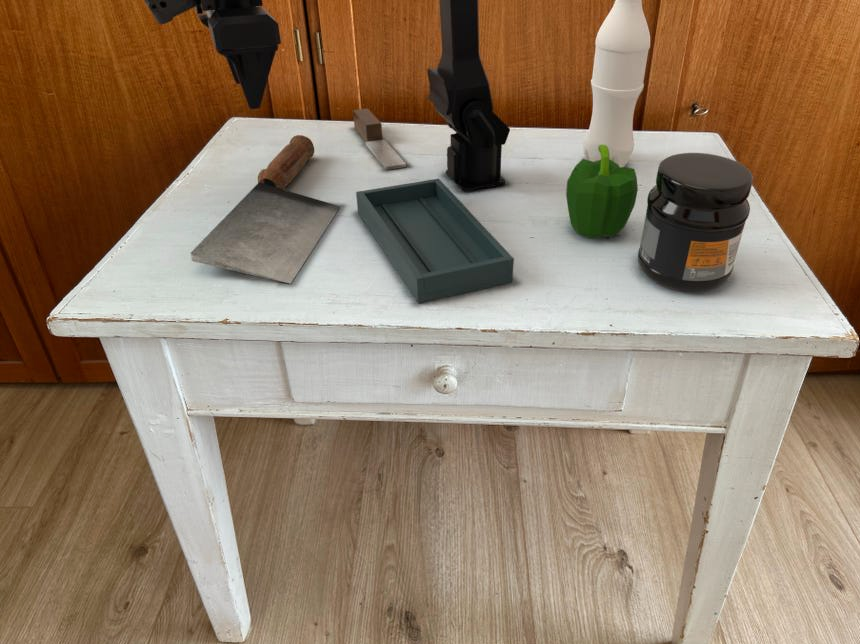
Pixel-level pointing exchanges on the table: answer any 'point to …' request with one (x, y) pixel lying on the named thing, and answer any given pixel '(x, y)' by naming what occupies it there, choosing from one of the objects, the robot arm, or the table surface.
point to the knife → (376, 139)
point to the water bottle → (617, 81)
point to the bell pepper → (600, 196)
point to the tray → (433, 240)
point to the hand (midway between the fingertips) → (247, 95)
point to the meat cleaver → (270, 223)
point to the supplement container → (694, 221)
